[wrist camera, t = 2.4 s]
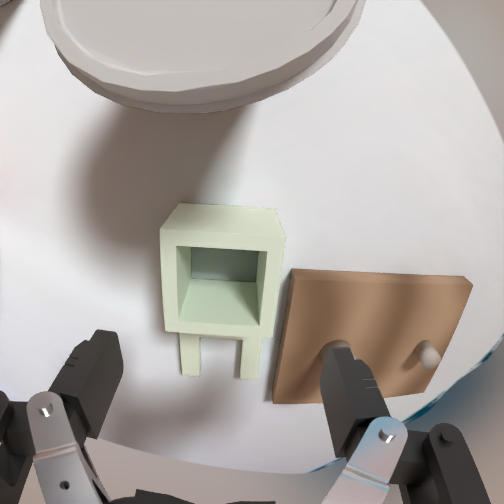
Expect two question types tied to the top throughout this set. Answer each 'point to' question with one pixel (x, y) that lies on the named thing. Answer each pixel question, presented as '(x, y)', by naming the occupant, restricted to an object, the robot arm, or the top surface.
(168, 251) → the hollow square block
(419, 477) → the robot arm
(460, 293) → the post base
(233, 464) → the top surface
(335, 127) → the top surface
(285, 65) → the disposable coffee cup
